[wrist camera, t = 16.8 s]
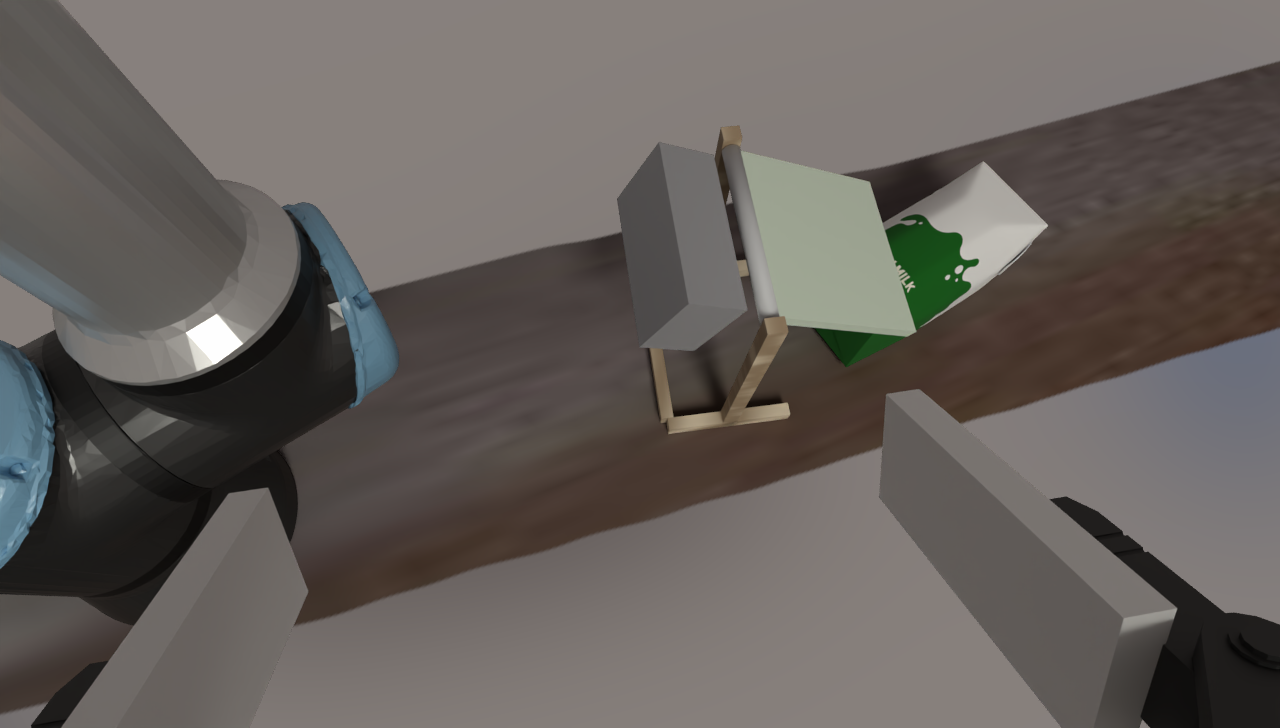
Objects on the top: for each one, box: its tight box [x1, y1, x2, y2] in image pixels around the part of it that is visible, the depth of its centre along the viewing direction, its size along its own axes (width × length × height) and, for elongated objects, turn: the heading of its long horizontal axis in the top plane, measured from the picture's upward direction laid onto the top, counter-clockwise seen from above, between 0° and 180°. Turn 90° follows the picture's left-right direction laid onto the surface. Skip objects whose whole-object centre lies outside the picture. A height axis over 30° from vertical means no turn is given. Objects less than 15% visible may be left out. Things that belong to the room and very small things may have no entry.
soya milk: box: [815, 161, 1048, 367], centre depth 57 cm, size 9×9×20 cm
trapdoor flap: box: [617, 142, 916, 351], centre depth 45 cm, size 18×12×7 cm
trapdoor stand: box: [649, 126, 790, 434], centre depth 50 cm, size 10×15×19 cm
